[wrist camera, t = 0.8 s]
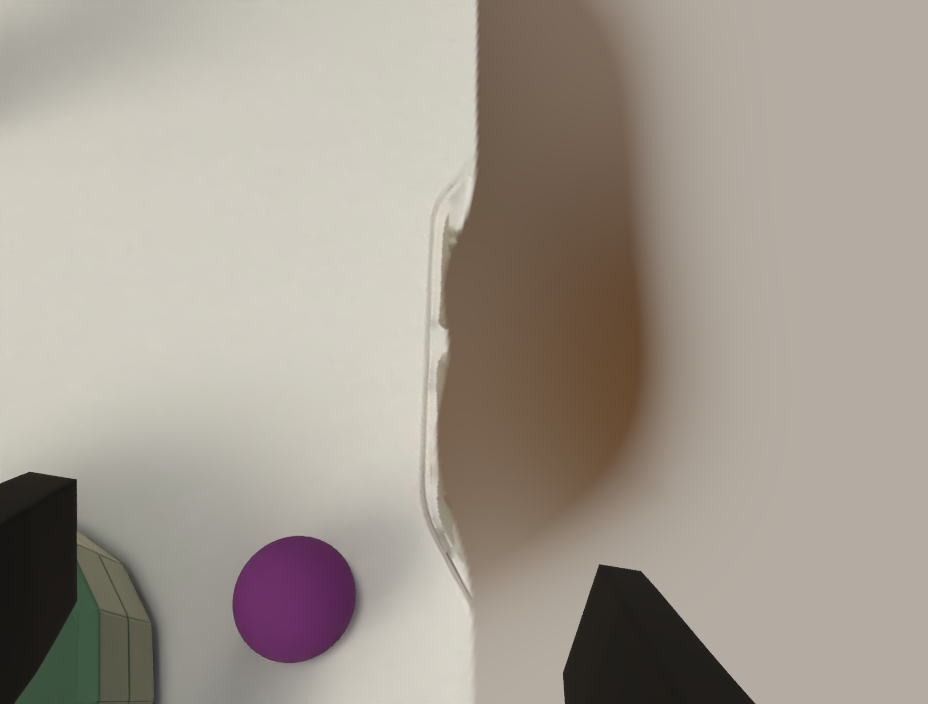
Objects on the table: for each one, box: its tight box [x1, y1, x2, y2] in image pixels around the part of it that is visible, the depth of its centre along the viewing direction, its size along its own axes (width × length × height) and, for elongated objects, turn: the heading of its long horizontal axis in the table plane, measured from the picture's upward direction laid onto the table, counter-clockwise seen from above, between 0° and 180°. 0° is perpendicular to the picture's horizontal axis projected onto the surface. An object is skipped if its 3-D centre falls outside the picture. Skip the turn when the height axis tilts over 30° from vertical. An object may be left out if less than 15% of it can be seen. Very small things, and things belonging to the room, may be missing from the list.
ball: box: [233, 536, 356, 663], centre depth 23 cm, size 4×4×4 cm
